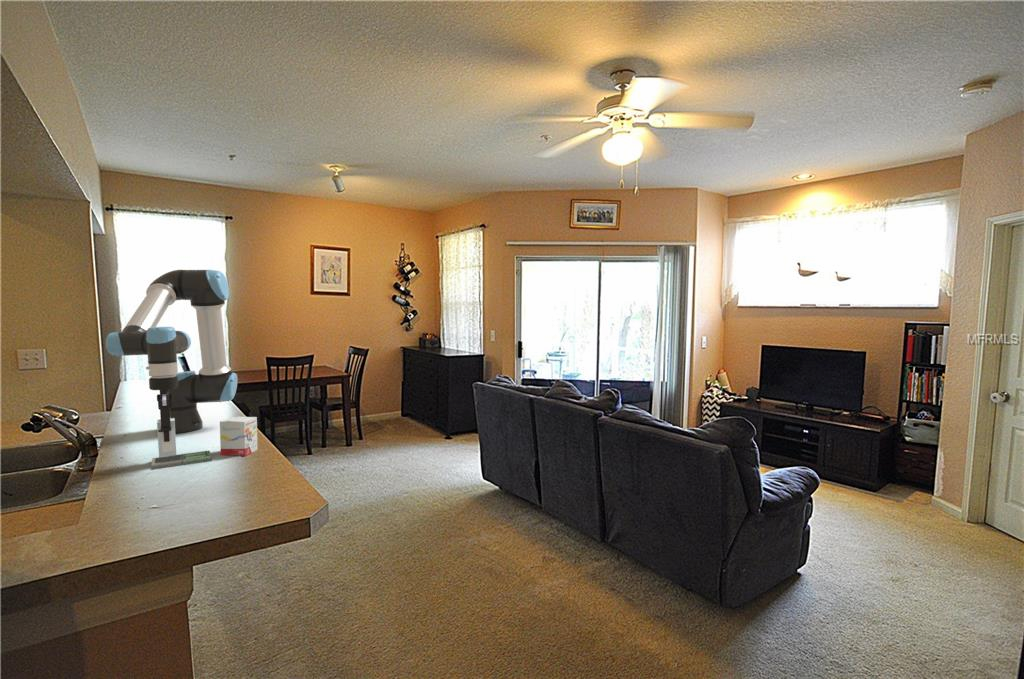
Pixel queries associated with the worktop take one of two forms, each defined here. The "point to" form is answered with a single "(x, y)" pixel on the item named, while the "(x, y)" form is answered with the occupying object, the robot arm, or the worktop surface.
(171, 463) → the panel
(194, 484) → the worktop surface
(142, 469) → the worktop surface
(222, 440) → the ink box
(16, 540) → the worktop surface
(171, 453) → the plug
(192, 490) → the worktop surface
